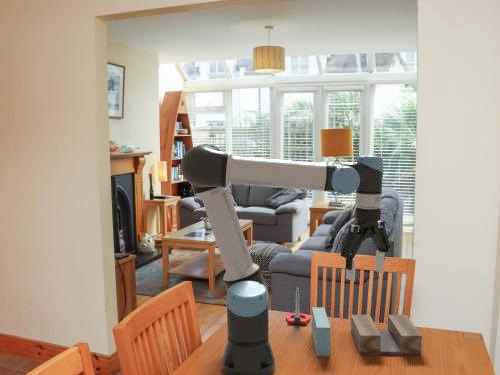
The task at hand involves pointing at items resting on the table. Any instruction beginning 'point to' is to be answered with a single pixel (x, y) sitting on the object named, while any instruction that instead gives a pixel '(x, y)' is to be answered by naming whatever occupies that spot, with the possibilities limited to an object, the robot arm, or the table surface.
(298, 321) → the tow hook
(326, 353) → the teal beam
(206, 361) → the table surface
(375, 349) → the grey grooved block
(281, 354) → the table surface
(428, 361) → the table surface
